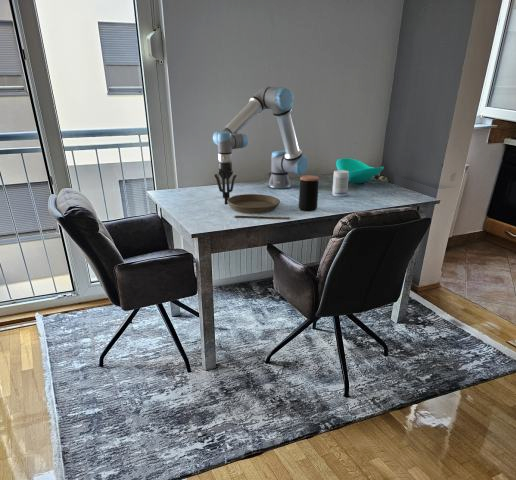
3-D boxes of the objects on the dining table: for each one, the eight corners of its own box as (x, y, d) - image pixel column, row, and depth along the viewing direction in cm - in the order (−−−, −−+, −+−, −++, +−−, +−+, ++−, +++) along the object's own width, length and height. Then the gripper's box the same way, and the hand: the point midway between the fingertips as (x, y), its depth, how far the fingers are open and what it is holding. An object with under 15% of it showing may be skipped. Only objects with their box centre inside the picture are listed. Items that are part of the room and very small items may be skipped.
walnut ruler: (234, 217, 258) (234, 216, 258) (235, 216, 261) (235, 215, 260) (289, 219, 256) (289, 218, 256) (289, 218, 258) (289, 217, 258)
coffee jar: (318, 207, 276) (320, 176, 267) (314, 212, 267) (316, 180, 258) (301, 206, 279) (302, 174, 270) (296, 210, 270) (298, 178, 261)
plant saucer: (283, 202, 286) (283, 194, 284) (275, 216, 260) (275, 208, 258) (234, 199, 291) (233, 192, 289) (221, 213, 265) (221, 205, 263)
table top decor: (325, 179, 343) (326, 160, 336) (355, 175, 355) (357, 156, 348) (359, 190, 314) (362, 169, 307) (391, 186, 325) (394, 165, 318)
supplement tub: (349, 195, 301) (352, 171, 293) (338, 197, 296) (341, 173, 289) (339, 192, 308) (341, 169, 300) (328, 194, 303) (330, 171, 296)
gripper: (212, 162, 261) (214, 205, 274) (235, 163, 260) (236, 205, 273) (215, 160, 268) (216, 201, 280) (237, 160, 267) (238, 202, 279)
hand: (226, 203), depth 276 cm, fingers closed
